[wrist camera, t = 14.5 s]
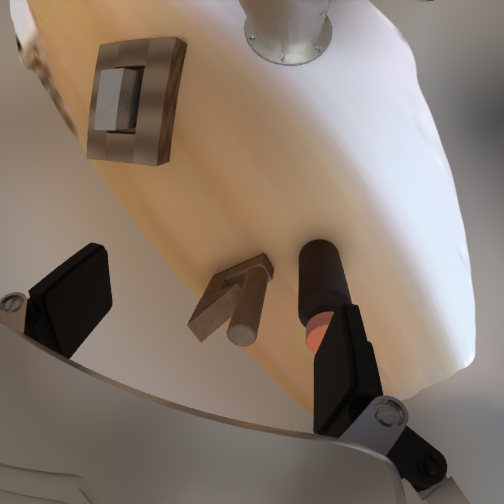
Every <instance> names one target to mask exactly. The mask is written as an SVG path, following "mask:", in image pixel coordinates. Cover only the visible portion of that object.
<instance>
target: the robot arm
mask: <svg viewBox="0 0 504 504" xmlns="http://www.w3.org/2000/svg"><path fill="white" fill-rule="evenodd" d="M415 1H433V0H415ZM239 2H240V4H241V6H242V8H243V10H244V12H245V13H246V15H247V18H246V21H245V28H244V30H245V36H246V39H247V41H248V43H249V45H250V46H251V48H252V49H253V50H254V51H255V52H256V53H257V54H258V55H259V56H260V57H262V58H264V59H265V60H267V61H269V62H272V63H275V64H279V65H286V66H295V65H302V64H306V63H309V62H311V61H313V60H315V59H316V58H318V57H319V56H321V55H322V54H323V53H324V51H325V50H326V49H327V47H328V45H329V43H330V41H331V36H332V26H331V23H330V20H329V18H328V16H327V10H328V7H329V3H330V0H239ZM251 39H255V40H253V41H251ZM317 49H319V50H320V51H319V52H317V51H316V50H317ZM281 59H284V61H280V60H281ZM29 295H30V298H29V299H28V300H27V297H26V296H25V295H24V294H23V293H20V292H13V293H9V294H7V295H5V296H4V297H3V298H1V299H0V504H470V503H469V501H468V500H467V498H466V497H465V496H464V494H463V492H462V491H461V490H460V488H459V487H458V485H457V484H456V482H455V481H454V480H453V478H452V477H451V476H450V477H449V478H447V476H446V472H447V463H446V460H445V458H444V456H443V455H442V454H441V453H440V452H439V451H438V450H436V449H435V448H434V447H433V446H431V445H430V444H429V443H428V442H426V441H425V440H424V439H423V438H421V437H420V436H419V435H418V434H416V433H415V432H414V431H413V430H412V429H410V428H409V427H408V426H407V422H408V412H407V409H406V407H405V406H404V404H403V403H402V402H400V401H399V400H398V399H396V398H394V397H391V396H383V391H382V386H381V381H380V376H379V372H378V367H377V363H376V359H375V355H374V350H373V346H372V344H371V342H369V341H367V337H366V333H365V329H364V325H363V321H362V318H361V314H360V310H359V307H358V305H354V304H349V303H343V304H342V305H341V306H339V305H338V306H337V307H336V309H335V311H334V314H333V316H332V319H331V321H330V323H329V326H328V328H327V330H326V332H325V335H324V337H323V339H322V341H321V344H320V346H319V348H318V350H317V352H316V355H315V358H314V428H313V430H314V434H311V433H305V432H298V431H292V430H285V429H280V428H274V427H269V426H264V425H259V424H254V423H249V422H244V421H239V420H235V419H230V418H226V417H222V416H218V415H215V414H211V413H207V412H203V411H200V410H196V409H193V408H189V407H186V406H183V405H180V404H177V403H173V402H170V401H167V400H164V399H162V398H159V397H156V396H153V395H150V394H147V393H145V392H142V391H139V390H137V389H134V388H132V387H129V386H126V385H124V384H122V383H119V382H117V381H115V380H112V379H110V378H108V377H105V376H103V375H101V374H99V373H97V372H94V371H92V370H90V369H88V368H86V367H84V366H82V365H80V364H78V363H76V362H74V361H72V360H70V357H72V355H73V354H74V353H75V351H76V350H77V349H78V348H79V346H80V345H81V344H82V343H83V342H84V340H85V339H86V338H87V337H88V335H89V334H90V333H91V332H92V331H93V329H94V328H95V327H96V326H97V325H98V323H99V322H100V321H101V320H102V319H103V317H104V316H105V315H106V314H107V313H108V311H109V310H110V309H111V307H112V293H111V285H110V276H109V265H108V254H107V251H106V250H105V248H104V246H103V245H100V244H96V243H89V244H88V245H87V246H85V247H84V248H83V249H81V250H80V251H78V252H77V253H76V254H75V255H73V256H72V257H70V258H69V259H68V260H66V261H65V262H64V263H62V264H61V265H60V266H58V267H57V268H56V269H55V270H53V271H52V272H51V273H50V274H48V275H47V276H46V277H45V278H43V279H42V280H41V281H40V282H39V283H37V284H36V285H35V286H34V287H32V288H31V289H30V290H29ZM317 434H318V435H317Z"/></svg>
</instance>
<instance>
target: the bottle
mask: <svg viewBox="0 0 504 504" xmlns="http://www.w3.org/2000/svg"><path fill="white" fill-rule="evenodd" d="M343 303H349V304H352V301H351V297H350V293H349V289H348V285H347V281H346V278H345V274H344V270H343V267H342V263H341V259H340V256H339V253H338V250H337V249H336V247H335V246H334V245H333V244H331V243H330V242H328V241H324V240H315V241H312V242H309V243H308V244H307V245H305V246H304V247H303V249H302V250H301V252H300V255H299V295H298V314H299V319H300V321H301V323H302V325H304V326H305V327H306V345H307V346H308V349H309V350H310V351H311V352H313V353H314V354H316V352H317V350H318V348H319V346H320V344H321V341H322V339H323V337H324V335H325V332H326V330H327V328H328V326H329V323H330V321H331V319H332V316H333V314H334V311H335V309H336V307H337V306H338V305H339V306H341V305H342V304H343Z"/></svg>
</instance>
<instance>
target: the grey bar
mask: <svg viewBox="0 0 504 504" xmlns="http://www.w3.org/2000/svg"><path fill="white" fill-rule="evenodd" d="M143 74H144V73H143V72H139V71H134V70H130V69H125V68H120V69H108V70H102V71H101V77H100V83H99V90H98V97H97V105H96V114H95V124H94V130H123V129H131V128H136V124H137V115H138V107H139V100H140V93H141V86H142V80H143Z"/></svg>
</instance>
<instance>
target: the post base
mask: <svg viewBox="0 0 504 504" xmlns="http://www.w3.org/2000/svg"><path fill="white" fill-rule="evenodd" d="M186 47H187V44H186V43H185V42H183V41H182V40H180V39H178V38H177V37H166V38H150V39H139V40H130V41H122V42H114V43H108V44H102V45H100V48H99V53H98V58H97V64H96V69H95V75H94V82H93V88H92V96H91V104H90V114H89V125H88V140H87V159H96V160H107V161H116V162H126V163H134V164H142V165H150V166H159V165H162V164H164V163H167V162H169V157H170V148H171V139H172V131H173V123H174V116H175V109H176V102H177V96H178V90H179V84H180V78H181V73H182V67H183V62H184V57H185V52H186ZM120 68H125V69H130V70H134V71H139V72H143V73H144V74H143V80H142V86H141V93H140V100H139V107H138V115H137V124H136V128H131V129H123V130H94V124H95V114H96V105H97V97H98V90H99V83H100V77H101V71H102V70H108V69H120Z"/></svg>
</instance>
